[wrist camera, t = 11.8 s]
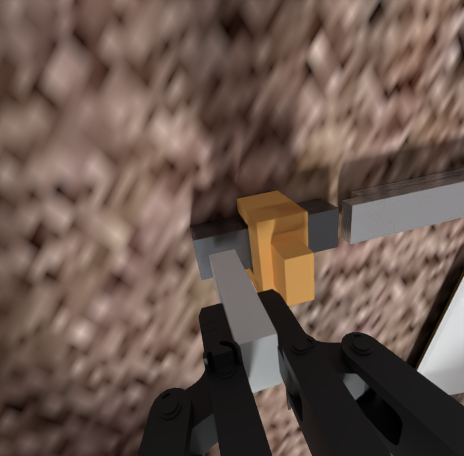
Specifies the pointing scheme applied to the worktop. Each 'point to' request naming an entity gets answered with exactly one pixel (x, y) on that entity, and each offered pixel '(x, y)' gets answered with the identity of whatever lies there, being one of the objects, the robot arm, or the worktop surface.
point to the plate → (447, 346)
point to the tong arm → (402, 209)
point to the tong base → (319, 226)
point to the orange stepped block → (279, 246)
